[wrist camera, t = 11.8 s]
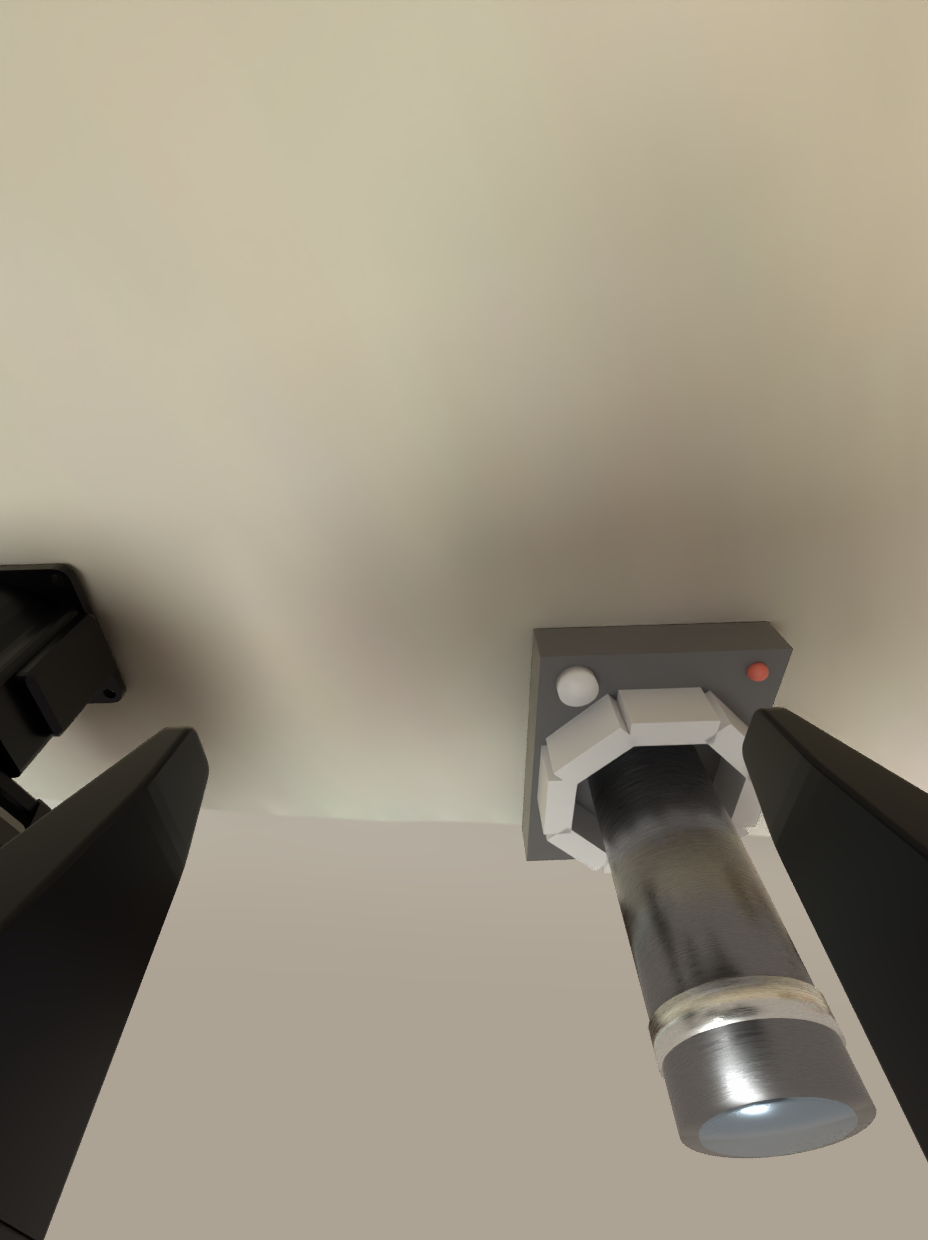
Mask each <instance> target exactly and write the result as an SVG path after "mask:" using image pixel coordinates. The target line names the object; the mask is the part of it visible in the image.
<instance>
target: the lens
mask: <svg viewBox="0 0 928 1240" xmlns="http://www.w3.org/2000/svg"><path fill="white" fill-rule="evenodd" d="M587 781H588V785H589V788H590V792H591V796H592V800H593V804H594V808H595V812H596V816H597V819H598V823H599V827H600V831H601V835H602V839H603V843H604V846H605V850H606V854H607V858H608V862H609V866H610V870H611V873H612V877H613V881H614V885H615V889H616V893H617V897H618V900H619V904H620V908H621V912H622V916H623V920H624V924H625V928H626V931H627V935H628V939H629V943H630V946H631V951H632V954H633V958H634V962H635V966H636V970H637V974H638V978H639V982H640V985H641V989H642V993H643V997H644V1001H645V1005H646V1009H647V1013H648V1016H649V1020H650V1021H649V1033H650V1037H651V1041H652V1045H653V1049H654V1053H655V1057H656V1061H657V1065H658V1069H659V1072H660V1074H661V1076H662V1077H663V1078H664V1079H665V1082H666V1086H667V1090H668V1094H669V1097H670V1101H671V1105H672V1109H673V1113H674V1117H675V1121H676V1125H677V1128H678V1132H679V1136H680V1139H681V1141H682V1143H684V1144H685V1145H686V1146H687V1147H689V1148H690V1149H692V1150H695V1151H697V1152H700V1153H704V1154H708V1155H713V1156H720V1157H730V1158H762V1157H774V1156H782V1155H790V1154H795V1153H801V1152H806V1151H810V1150H814V1149H818V1148H822V1147H825V1146H828V1145H831V1144H835V1143H837V1142H840V1141H843V1140H845V1139H847V1138H849V1137H851V1136H853V1135H855V1134H857V1133H859V1132H860V1131H862V1130H863V1129H865V1128H866V1127H867V1126H868V1125H870V1124H871V1122H872V1121H873V1119H874V1118H875V1116H876V1108H875V1106H874V1104H873V1102H872V1100H871V1098H870V1096H869V1094H868V1092H867V1090H866V1088H865V1086H864V1084H863V1082H862V1080H861V1078H860V1076H859V1074H858V1072H857V1070H856V1068H855V1066H854V1064H853V1062H852V1060H851V1058H850V1056H849V1054H848V1052H847V1050H846V1048H845V1046H846V1042H845V1038H844V1036H843V1034H842V1032H841V1030H840V1028H839V1026H838V1024H837V1022H836V1020H835V1018H834V1016H833V1014H832V1012H831V1010H830V1008H829V1006H828V1004H827V1002H826V1000H825V998H824V996H823V994H821V992H820V991H819V990H818V989H817V988H815V986H814V985H813V982H812V980H811V978H810V976H809V974H808V972H807V970H806V968H805V966H804V964H803V962H802V961H801V958H800V956H799V954H798V953H797V950H796V948H795V946H794V944H793V942H792V940H791V938H790V936H789V934H788V932H787V930H786V928H785V926H784V925H783V922H782V920H781V918H780V916H779V915H778V912H777V910H776V908H775V906H774V904H773V902H772V901H771V899H770V896H769V894H768V892H767V890H766V888H765V886H764V884H763V882H762V880H761V878H760V876H759V874H758V873H757V870H756V868H755V867H754V864H753V863H752V861H751V859H750V857H749V855H748V853H747V851H746V849H745V847H744V845H743V843H742V841H741V839H740V837H739V835H738V833H737V831H736V829H735V827H734V825H733V823H732V821H731V819H730V817H729V815H728V813H727V811H726V809H725V807H724V805H723V803H722V801H721V799H720V797H719V795H718V793H717V791H716V789H715V787H714V785H713V783H712V781H711V779H710V777H709V775H708V773H707V771H706V769H705V767H704V765H703V763H702V761H701V759H700V757H699V755H698V753H697V751H696V749H695V747H694V745H693V744H686V745H657V746H634V747H632V748H631V749H629V750H628V751H626V752H625V753H623V754H622V755H620V756H619V757H617V758H616V759H614V760H613V761H611V762H610V763H608V764H607V765H605V766H604V767H602V768H601V769H599V770H598V771H596V772H595V773H593V774H592V775H590V776H589V777H587Z"/></svg>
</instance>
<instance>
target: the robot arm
mask: <svg viewBox="0 0 928 1240" xmlns="http://www.w3.org/2000/svg"><path fill="white" fill-rule="evenodd" d="M57 575H59V576H60V577H62V578H63V579H64V581H65V582H64V581H61V580H60V579H59V578H58V577H57ZM109 689H110V690H112V691H114V692H112V691H110V690H109ZM125 693H126V687H125V685H124V682H123V680H122V678H121V676H120V673H119V671H118V669H117V665H116V663H115V660H114V658H113V656H112V653H111V651H110V649H109V647H108V644H107V642H106V640H105V637H104V635H103V633H102V631H101V628H100V626H99V624H98V621H97V619H96V618H95V616H94V614H93V611H92V609H91V607H90V605H89V602H88V600H87V598H86V595H85V593H84V591H83V589H82V586H81V584H80V582H79V579H78V577H77V575H76V574H75V572H74V571H73V570H72V569H71V568H69V567H67V566H65V565H61V564H46V565H11V566H0V1240H44V1238H45V1235H46V1233H47V1230H48V1227H49V1225H50V1222H51V1220H52V1217H53V1214H54V1212H55V1209H56V1206H57V1204H58V1201H59V1198H60V1196H61V1193H62V1191H63V1188H64V1185H65V1182H66V1180H67V1177H68V1175H69V1172H70V1169H71V1167H72V1164H73V1161H74V1159H75V1156H76V1154H77V1151H78V1148H79V1145H80V1143H81V1140H82V1137H83V1135H84V1132H85V1130H86V1127H87V1124H88V1122H89V1119H90V1116H91V1114H92V1111H93V1109H94V1106H95V1103H96V1100H97V1098H98V1095H99V1093H100V1090H101V1087H102V1085H103V1082H104V1080H105V1077H106V1074H107V1072H108V1069H109V1066H110V1064H111V1061H112V1058H113V1056H114V1053H115V1050H116V1048H117V1045H118V1043H119V1040H120V1037H121V1035H122V1032H123V1029H124V1027H125V1024H126V1021H127V1018H128V1016H129V1013H130V1011H131V1008H132V1005H133V1003H134V1000H135V998H136V995H137V992H138V990H139V987H140V984H141V982H142V979H143V976H144V974H145V971H146V969H147V966H148V963H149V961H150V958H151V955H152V953H153V950H154V947H155V945H156V942H157V940H158V937H159V934H160V931H161V929H162V926H163V924H164V921H165V918H166V916H167V913H168V910H169V908H170V905H171V902H172V900H173V897H174V895H175V892H176V889H177V886H178V884H179V881H180V878H181V875H182V872H183V870H184V867H185V863H186V860H187V857H188V853H189V849H190V846H191V842H192V837H193V834H194V830H195V826H196V822H197V818H198V814H199V811H200V807H201V803H202V799H203V795H204V791H205V787H206V784H207V780H208V774H209V765H208V761H207V758H206V755H205V752H204V750H203V747H202V744H201V742H200V739H199V736H198V734H197V732H196V730H195V729H194V728H193V727H190V726H180V727H167V728H164V729H163V730H161V731H160V732H158V733H157V734H155V735H154V736H153V737H151V738H150V739H149V740H147V741H146V742H145V743H143V744H142V745H140V746H139V747H138V748H136V749H135V750H134V751H132V752H131V753H129V754H128V755H127V756H125V757H124V758H123V759H121V760H120V761H119V762H117V763H116V764H114V765H113V766H112V767H110V768H109V769H108V770H106V771H105V772H103V773H102V774H101V775H99V776H98V777H97V778H95V779H94V780H92V781H91V782H90V783H88V784H87V785H86V786H84V787H83V788H82V789H80V790H79V791H77V792H76V793H75V794H73V795H72V796H71V797H69V798H68V799H66V800H65V801H64V802H62V803H61V804H60V805H58V806H57V807H55V808H54V809H53V810H51V808H50V807H48V806H47V805H46V804H45V803H44V802H43V801H42V800H40V799H37V800H36V799H35V798H34V797H32V796H31V795H30V794H29V793H28V792H27V791H25V790H24V789H23V788H22V787H21V786H20V785H19V784H17V783H16V782H15V781H14V780H13V779H12V778H16V777H19V776H20V775H21V774H22V773H23V771H24V770H25V769H26V768H27V767H28V765H29V764H30V763H31V762H32V761H33V759H34V758H35V757H36V756H37V755H38V753H39V752H40V751H41V750H42V749H43V747H44V746H45V745H46V744H47V743H48V742H49V740H50V739H51V738H52V737H57V736H61V735H62V734H63V733H64V731H65V730H66V729H67V728H68V727H69V725H70V724H71V723H72V722H73V721H74V719H75V718H76V717H77V716H78V714H79V713H80V712H81V711H82V710H83V708H84V707H85V706H86V705H87V704H88V703H114V702H118V701H120V700H121V699H122V697H123V696H124V695H125ZM742 755H743V760H744V763H745V765H746V768H747V771H748V774H749V776H750V779H751V782H752V785H753V788H754V790H755V793H756V796H757V799H758V802H759V804H760V807H761V810H762V813H763V815H764V818H765V821H766V824H767V827H768V829H769V832H770V835H771V837H772V840H773V842H774V844H775V847H776V849H777V851H778V853H779V856H780V858H781V860H782V862H783V864H784V866H785V868H786V870H787V873H788V874H789V877H790V879H791V881H792V883H793V885H794V887H795V889H796V891H797V893H798V895H799V897H800V899H801V902H802V904H803V906H804V908H805V910H806V912H807V914H808V916H809V918H810V920H811V922H812V924H813V926H814V928H815V930H816V932H817V935H818V937H819V939H820V941H821V943H822V945H823V947H824V949H825V951H826V953H827V955H828V957H829V959H830V961H831V963H832V965H833V967H834V970H835V972H836V973H837V976H838V978H839V980H840V982H841V984H842V986H843V988H844V990H845V992H846V994H847V996H848V998H849V1001H850V1003H851V1005H852V1007H853V1009H854V1011H855V1013H856V1015H857V1017H858V1019H859V1021H860V1023H861V1025H862V1027H863V1029H864V1032H865V1034H866V1036H867V1038H868V1040H869V1042H870V1044H871V1046H872V1048H873V1050H874V1052H875V1054H876V1056H877V1058H878V1060H879V1062H880V1064H881V1067H882V1069H883V1071H884V1073H885V1075H886V1077H887V1079H888V1081H889V1083H890V1085H891V1087H892V1089H893V1091H894V1093H895V1095H896V1098H897V1100H898V1102H899V1104H900V1106H901V1108H902V1110H903V1112H904V1114H905V1116H906V1118H907V1120H908V1122H909V1124H910V1126H911V1129H912V1131H913V1133H914V1135H915V1137H916V1139H917V1141H918V1143H919V1145H920V1147H921V1149H922V1151H923V1153H924V1155H925V1157H926V1159H927V1162H928V793H926V792H924V791H923V790H921V789H919V788H918V787H916V786H914V785H913V784H911V783H909V782H908V781H906V780H904V779H903V778H901V777H899V776H898V775H896V774H894V773H893V772H891V771H889V770H888V769H886V768H884V767H883V766H881V765H879V764H878V763H876V762H874V761H873V760H871V759H869V758H868V757H866V756H864V755H863V754H861V753H859V752H858V751H856V750H854V749H853V748H851V747H849V746H848V745H846V744H844V743H843V742H841V741H839V740H838V739H836V738H834V737H833V736H831V735H829V734H828V733H826V732H824V731H823V730H821V729H819V728H818V727H816V726H814V725H813V724H811V723H809V722H808V721H806V720H804V719H803V718H801V717H799V716H798V715H796V714H794V713H792V712H791V711H789V710H787V709H785V708H781V707H772V708H759V709H757V710H756V711H755V712H754V713H753V715H752V718H751V721H750V724H749V727H748V730H747V733H746V735H745V738H744V741H743V745H742Z"/></svg>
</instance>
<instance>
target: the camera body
mask: <svg viewBox="0 0 928 1240" xmlns="http://www.w3.org/2000/svg"><path fill="white" fill-rule="evenodd" d="M792 650H793V648H792V647H791V646H790V645H789V644H788V643H787V642H786V641H785V640H784V638H783V637H782V636H781V635H780V634H779V633H778V632H777V631H776V630H775V629H774V628H773V626H772V625H771V624H770V623H769V622H745V623H713V624H681V625H649V626H617V627H585V628H553V629H534V630H533V647H532V664H531V682H530V699H529V717H528V734H527V751H526V769H525V786H524V803H523V821H522V831H523V838H524V845H525V853H526V860H527V861H539V860H566V859H577V860H579V861H580V862H582V863H583V864H585V865H586V866H588V867H589V868H591V869H592V870H594V871H596V870H598V869H600V868H601V867H602V869H603V873H611V870H610V866H609V862H608V858H607V854H606V850H605V846H604V843H603V839H602V835H601V831H600V827H599V823H598V819H597V816H596V812H595V808H594V804H593V800H592V796H591V792H590V788H589V785H588V781H587V777H589V776H590V775H592V774H593V773H595V772H596V771H598V770H599V769H601V768H602V767H604V766H605V765H607V764H608V763H610V762H611V761H613V760H614V759H616V758H617V757H619V756H620V755H622V754H623V753H625V752H626V751H628V750H629V749H631V748H632V747H634V746H657V745H686V744H693V745H694V747H695V749H696V751H697V753H698V755H699V757H700V759H701V761H702V763H703V765H704V767H705V769H706V771H707V773H708V775H709V777H710V779H711V781H712V783H713V785H714V787H715V789H716V791H717V793H718V795H719V797H720V799H721V801H722V803H723V805H724V807H725V809H726V811H727V813H728V815H729V817H730V819H731V821H732V823H733V825H734V827H735V829H736V831H737V833H738V835H739V837H742V836H744V835H746V834H748V833H749V832H748V830H747V828H746V827H755V826H756V824H757V821H758V819H759V816H760V814H761V811H762V810H761V807H760V804H759V802H758V799H757V796H756V793H755V790H754V788H753V785H752V782H751V779H750V776H749V774H748V771H747V768H746V765H745V763H744V760H743V755H742V745H743V741H744V738H745V735H746V733H747V730H748V727H749V724H750V721H751V718H752V715H753V713H754V712H755V711H756V710H757V709H759V708H772V706H773V703H774V700H775V697H776V695H777V692H778V689H779V686H780V684H781V681H782V678H783V675H784V673H785V670H786V667H787V664H788V661H789V659H790V656H791V653H792Z"/></svg>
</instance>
